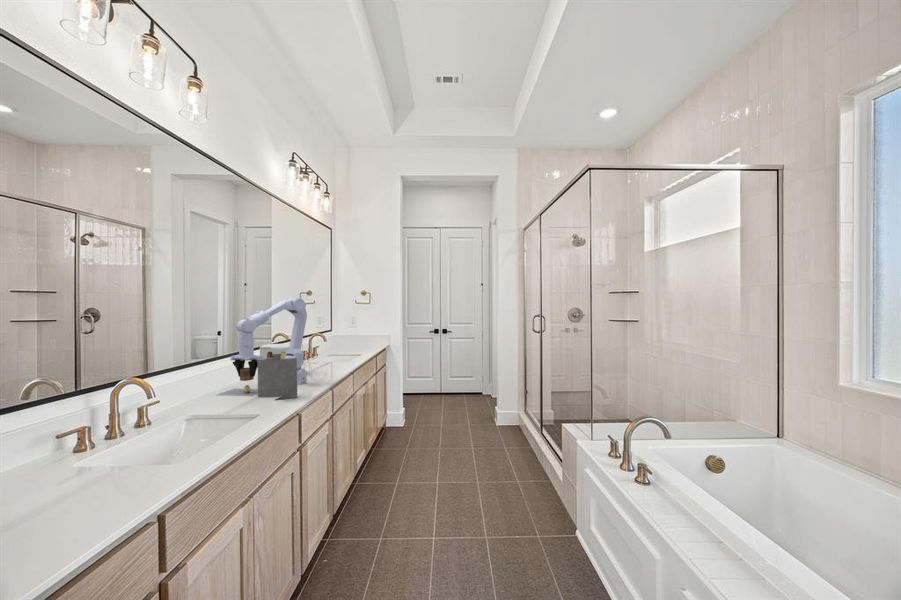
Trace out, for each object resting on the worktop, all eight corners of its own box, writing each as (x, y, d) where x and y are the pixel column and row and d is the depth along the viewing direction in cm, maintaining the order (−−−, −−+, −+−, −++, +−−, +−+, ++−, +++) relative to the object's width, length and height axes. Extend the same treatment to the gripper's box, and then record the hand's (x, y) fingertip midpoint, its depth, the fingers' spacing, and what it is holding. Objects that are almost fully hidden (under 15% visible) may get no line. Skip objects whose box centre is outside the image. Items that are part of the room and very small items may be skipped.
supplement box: (259, 379, 201) (258, 346, 201) (268, 374, 214) (268, 343, 214) (291, 378, 203) (291, 345, 203) (299, 373, 216) (299, 343, 216)
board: (269, 392, 171) (269, 389, 171) (251, 399, 159) (251, 396, 159) (234, 391, 174) (234, 388, 174) (214, 398, 162) (214, 395, 162)
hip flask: (298, 396, 163) (297, 351, 163) (295, 399, 159) (295, 353, 159) (259, 399, 160) (258, 353, 160) (256, 401, 156) (255, 354, 156)
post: (251, 392, 166) (251, 384, 166) (247, 393, 164) (247, 385, 164) (246, 392, 167) (246, 384, 167) (242, 393, 164) (242, 385, 164)
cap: (256, 378, 167) (255, 367, 167) (248, 380, 162) (247, 369, 162) (245, 378, 168) (245, 367, 168) (237, 380, 163) (237, 369, 163)
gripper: (225, 347, 162) (225, 378, 162) (254, 347, 160) (255, 378, 160) (236, 345, 169) (237, 374, 169) (265, 345, 167) (265, 375, 167)
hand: (246, 376), depth 165 cm, fingers closed on cap, 5 cm apart
